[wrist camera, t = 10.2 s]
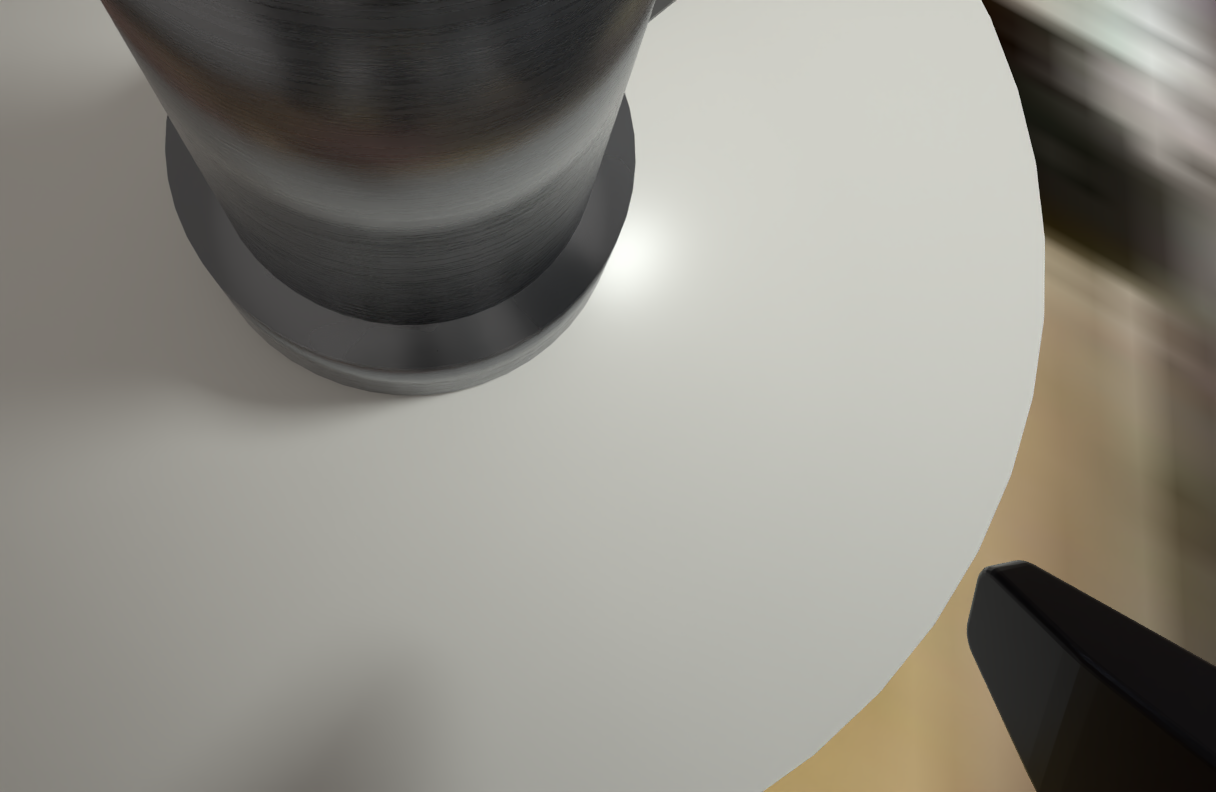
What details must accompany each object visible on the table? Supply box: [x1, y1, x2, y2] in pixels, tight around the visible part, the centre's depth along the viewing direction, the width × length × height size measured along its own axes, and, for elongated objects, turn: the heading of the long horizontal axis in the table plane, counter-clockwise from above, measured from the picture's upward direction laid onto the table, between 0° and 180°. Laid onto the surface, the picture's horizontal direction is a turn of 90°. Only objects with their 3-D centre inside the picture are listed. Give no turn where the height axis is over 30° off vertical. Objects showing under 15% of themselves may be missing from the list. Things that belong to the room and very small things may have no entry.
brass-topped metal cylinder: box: [100, 0, 656, 395], centre depth 12 cm, size 7×7×11 cm
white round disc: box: [0, 0, 1045, 792], centre depth 18 cm, size 22×22×1 cm
